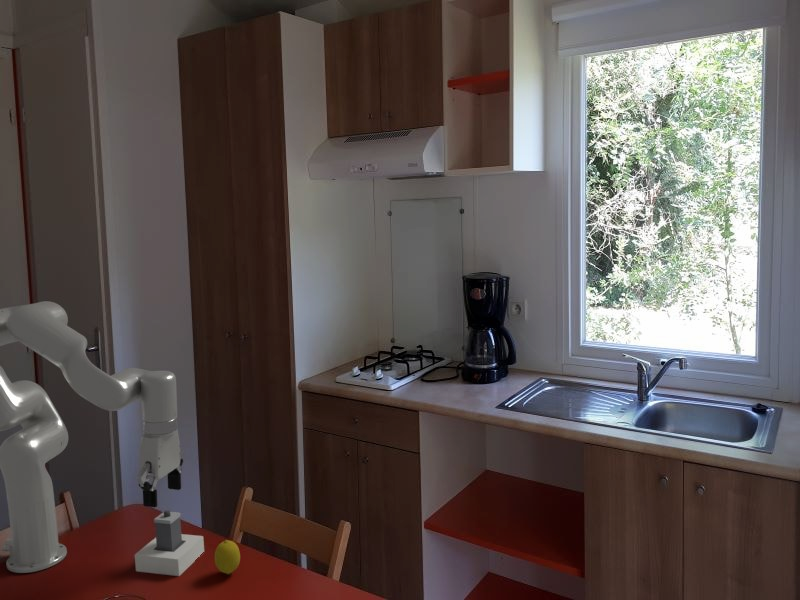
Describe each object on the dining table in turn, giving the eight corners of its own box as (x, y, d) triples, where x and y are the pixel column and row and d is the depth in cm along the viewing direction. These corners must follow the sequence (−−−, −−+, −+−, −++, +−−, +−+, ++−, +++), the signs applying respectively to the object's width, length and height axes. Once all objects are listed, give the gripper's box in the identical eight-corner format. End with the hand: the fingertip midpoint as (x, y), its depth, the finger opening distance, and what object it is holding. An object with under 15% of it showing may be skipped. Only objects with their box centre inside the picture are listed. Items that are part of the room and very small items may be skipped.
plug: (157, 560, 158) (153, 515, 156) (167, 551, 162) (164, 507, 160) (173, 562, 157) (169, 516, 155) (183, 553, 161) (180, 508, 159)
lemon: (243, 567, 156) (241, 533, 155) (238, 580, 150) (236, 545, 149) (218, 568, 156) (216, 534, 155) (213, 581, 150) (210, 546, 149)
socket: (135, 571, 155) (134, 554, 155) (163, 547, 166) (162, 532, 165) (179, 576, 153) (177, 559, 152) (204, 551, 163) (203, 536, 163)
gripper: (166, 413, 164) (169, 481, 166) (121, 436, 147) (125, 511, 150) (195, 415, 162) (197, 484, 165) (152, 439, 146) (155, 515, 148)
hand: (162, 497), depth 157 cm, fingers open, 9 cm apart
